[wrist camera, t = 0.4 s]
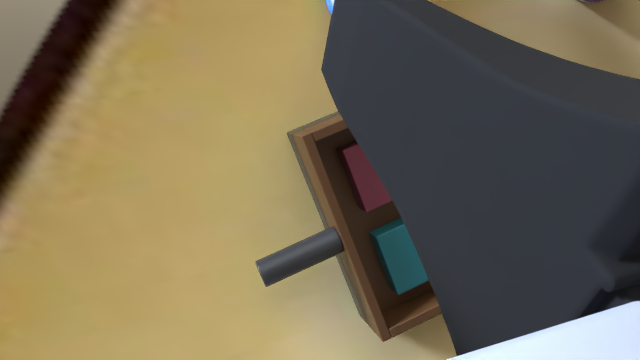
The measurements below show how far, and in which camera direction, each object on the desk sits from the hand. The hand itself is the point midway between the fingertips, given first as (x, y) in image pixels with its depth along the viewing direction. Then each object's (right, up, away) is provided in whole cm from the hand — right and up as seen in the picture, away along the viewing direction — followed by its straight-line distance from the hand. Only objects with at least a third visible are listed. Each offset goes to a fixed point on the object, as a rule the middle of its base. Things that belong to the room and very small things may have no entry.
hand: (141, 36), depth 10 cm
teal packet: (+9, -6, +28) cm, 30 cm away
